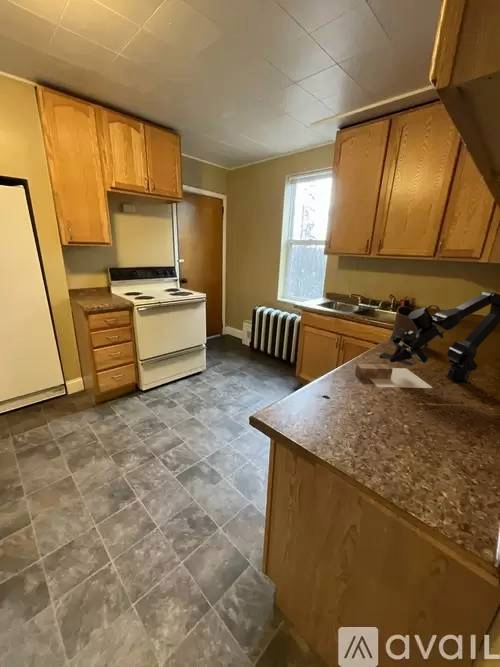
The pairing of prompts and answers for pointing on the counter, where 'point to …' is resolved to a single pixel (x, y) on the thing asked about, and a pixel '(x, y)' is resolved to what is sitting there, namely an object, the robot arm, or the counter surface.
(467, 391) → the counter surface
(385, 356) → the phone
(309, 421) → the counter surface
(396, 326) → the brown hollow rounded container
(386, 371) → the walnut block
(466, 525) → the counter surface
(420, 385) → the cutting board
